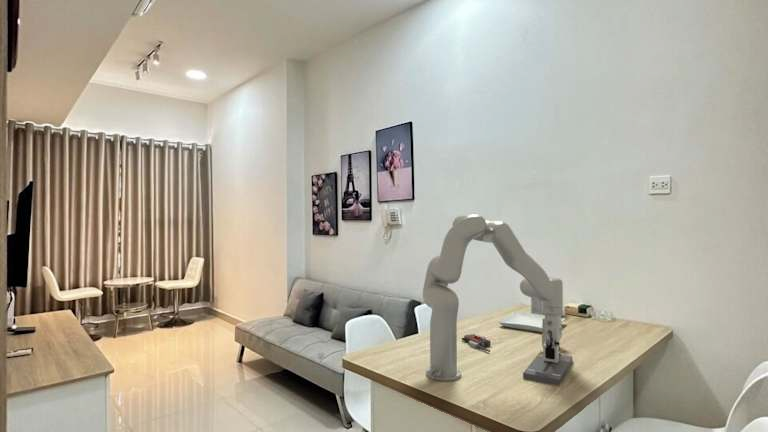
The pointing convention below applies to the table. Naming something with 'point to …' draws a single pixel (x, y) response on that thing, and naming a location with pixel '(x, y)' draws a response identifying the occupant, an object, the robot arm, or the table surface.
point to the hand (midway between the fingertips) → (552, 355)
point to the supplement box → (536, 306)
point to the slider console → (548, 369)
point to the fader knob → (555, 354)
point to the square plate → (525, 321)
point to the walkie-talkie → (477, 341)
